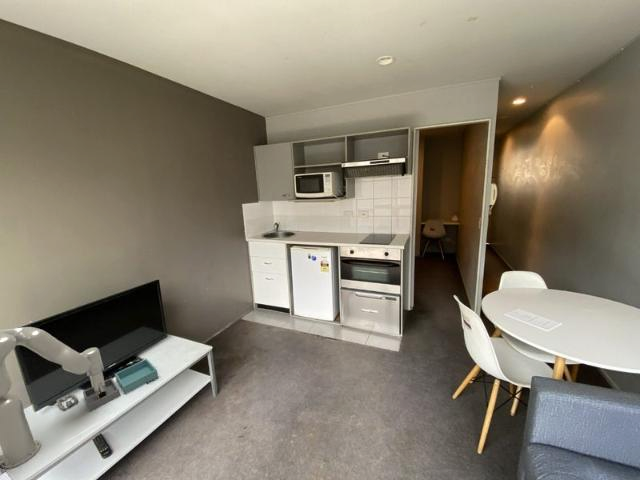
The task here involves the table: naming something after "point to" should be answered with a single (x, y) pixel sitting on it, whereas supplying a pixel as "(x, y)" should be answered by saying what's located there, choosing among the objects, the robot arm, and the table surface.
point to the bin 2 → (136, 376)
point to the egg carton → (68, 401)
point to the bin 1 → (95, 402)
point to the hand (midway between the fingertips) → (102, 395)
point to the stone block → (98, 392)
